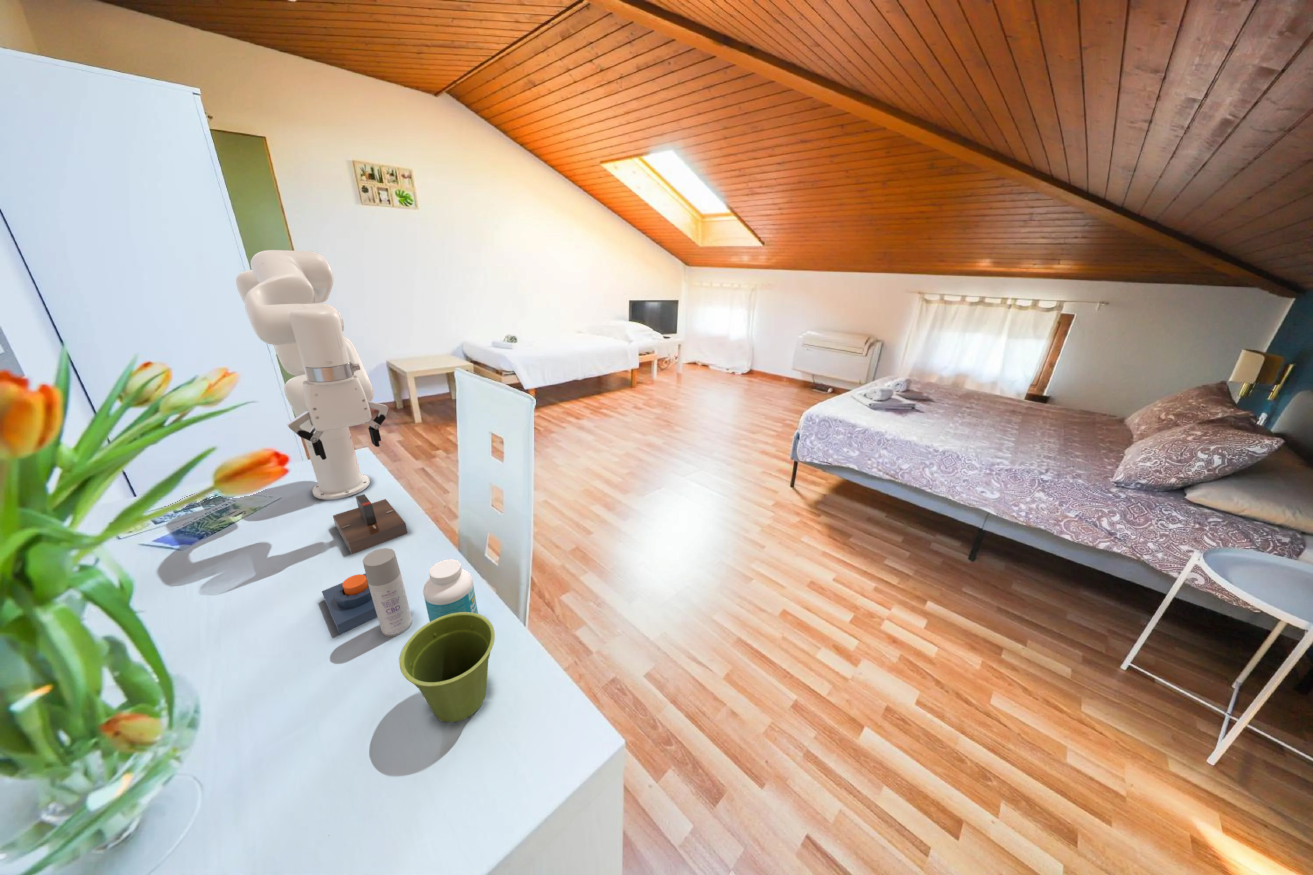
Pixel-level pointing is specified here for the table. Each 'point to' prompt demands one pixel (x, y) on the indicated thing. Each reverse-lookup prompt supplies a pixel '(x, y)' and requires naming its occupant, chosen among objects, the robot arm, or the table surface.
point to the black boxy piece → (366, 509)
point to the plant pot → (450, 663)
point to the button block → (349, 607)
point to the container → (387, 591)
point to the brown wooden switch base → (369, 527)
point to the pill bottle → (449, 590)
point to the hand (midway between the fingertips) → (350, 451)
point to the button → (355, 584)
